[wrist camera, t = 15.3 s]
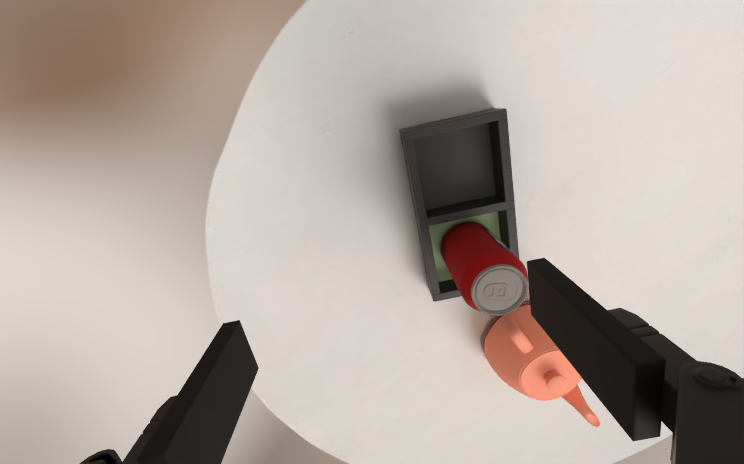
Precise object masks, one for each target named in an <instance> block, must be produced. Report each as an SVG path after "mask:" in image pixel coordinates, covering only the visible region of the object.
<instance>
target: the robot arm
mask: <svg viewBox="0 0 744 464" xmlns="http://www.w3.org/2000/svg"><path fill="white" fill-rule="evenodd" d="M527 269H528V282H529V295H530V308H531V315H532V316H533V318H534V319H535V320H536V321H537V322H538V324H539V325H540V326H541V327H542V329H543V330H544V331H545V332H546V334H547V335H548V336H549V337H550V339H551V340H552V341H553V342H554V344H555V345H556V346H557V347H558V349H559V350H560V351H561V352H562V354H563V355H564V356H565V357H566V359H567V360H568V361H569V362H570V364H571V365H572V366H573V367H574V368H575V370H576V371H577V372H578V373H579V375H580V376H581V377H582V378H583V380H584V381H585V382H586V383H587V385H588V386H589V387H590V388H591V390H592V391H593V392H594V393H595V395H596V396H597V397H598V398H599V400H600V401H601V402H602V403H603V405H604V406H605V407H606V408H607V409H608V411H609V412H610V413H611V414H612V416H613V417H614V418H615V419H616V421H617V422H618V423H619V424H620V426H621V427H622V428H623V429H624V431H625V432H626V433H627V434H628V436H629V437H630V438H631V439H632V441H637V440H643V439H648V438H654V437H660V430H661V421H662V422H663V423H664V424H665V425H666V426H667V427H668V428H669V429H670V430H671V431H672V432H673V438H672V449H671V464H744V379H743V378H741V377H740V376H738V375H737V374H736V373H735V372H733V371H731V370H729V369H727V368H725V367H723V366H719V365H716V364H713V363H708V362H700V361H696V360H695V359H694V358H692V357H691V356H690V355H688V354H687V353H686V352H685V351H683V350H682V349H681V348H679V347H678V346H677V345H675V344H674V343H673V342H672V341H670V340H669V339H668V338H666V337H665V336H664V335H662V334H659V332H658V331H657V330H656V329H655V328H653V327H652V326H649V324H648V323H647V322H645V321H644V320H643V319H641V318H640V317H639V316H638V315H636V314H633V313H631V312H629V311H626V310H624V309H622V308H618V309H613V310H606V309H605V308H604V307H602V306H601V305H600V304H599V303H598V302H597V301H595V300H594V299H593V298H592V297H591V296H589V295H588V294H587V293H586V292H585V291H583V290H582V289H581V288H580V287H579V286H577V285H576V284H575V283H574V282H573V281H572V280H570V279H569V278H568V277H567V276H566V275H564V274H563V273H562V272H561V271H560V270H558V269H557V268H556V267H555V266H554V265H552V264H551V263H550V262H549V261H548V260H546V259H545V258H541V259H536V260H531V261H527ZM257 371H258V365H257V363H256V360H255V358H254V355H253V353H252V350H251V348H250V345H249V343H248V340H247V338H246V335H245V333H244V330H243V328H242V325H241V323H240V320H238V321H233V322H228V323H223V325H222V326H221V328H220V329H219V331H218V333H217V334H216V336H215V337H214V339H213V341H212V342H211V344H210V345H209V347H208V348H207V350H206V351H205V353H204V355H203V356H202V358H201V359H200V361H199V363H198V364H197V366H196V367H195V369H194V370H193V372H192V373H191V375H190V376H189V378H188V380H187V381H186V383H185V384H184V386H183V387H182V389H181V391H180V392H179V394H178V395H177V396H173V397H170V398H169V399H168V400H167V401H166V402H165V403H164V404H163V405H162V406H161V407H160V408H159V409H158V410H157V412H156V413H155V415H154V416H153V418H152V419H151V421H150V424H148V425H147V427H146V428H145V429H144V431H143V434H141V436H140V437H139V438H138V440H137V441H136V443H135V444H134V446H133V447H132V449H131V450H130V452H129V453H128V455H127V456H126V458H125V459H124V461H123V462H122V461H121V459H120V458H119V456H118V454H117V453H116V452H115V451H114V450H110V449H107V450H103V451H100V452H97V453H96V454H94V455H92V456H90V457H88V458H87V459H85V460H84V461H83V462H81V463H80V464H221V462H222V459H223V457H224V454H225V452H226V449H227V446H228V444H229V442H230V439H231V437H232V434H233V432H234V429H235V427H236V424H237V421H238V419H239V416H240V414H241V411H242V409H243V406H244V404H245V401H246V399H247V396H248V394H249V391H250V389H251V386H252V384H253V381H254V379H255V376H256V374H257Z"/></svg>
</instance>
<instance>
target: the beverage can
mask: <svg viewBox="0 0 744 464" xmlns="http://www.w3.org/2000/svg"><path fill="white" fill-rule="evenodd" d="M441 255H442V258H443V260H444V262H445V264H446V266H447V268H448V270H449V272H450V274H451V276H452V278H453V280H454V282H455V284H456V286H457V288H458V289H459V291H460V293H461V295H462V297H463V299H464V300H465V302H466V303H467V304H468V305H469V306H471V307H472V308H474V309H476V310H478V311H481V312H483V313H485V314H488V315H493V316H499V315H505V314H508V313H510V312H512V311H514V310H515V309H517V308H518V307H519V306H520V305H521V304H522V303H523V301H524V300H525V298H526V295H527V292H528V284H527V282H528V276H527V271H526V268H525V266H524V265H523V263H522V262H521V261H520V260H519V259H518V258H517V257H516V256H515V255H514V254H513V253H512V252H511V251H510V250H509V249H508V248H507V247H506V246H505V245H504V244H503V243H502V242H501V241H500V240H499V239H498V238H497V237H496V236H495V235H494V234H493V233H492V232H491V231H490V230H489V229H488V228H486V227H485V226H484V225H482V224H479V223H476V222H465V223H461V224H458V225H456V226H454V227H453V228H451V229H450V230H449V231H448V232H447V234H446V235H445V236H444V238H443V241H442V244H441Z"/></svg>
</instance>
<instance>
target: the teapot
mask: <svg viewBox="0 0 744 464" xmlns="http://www.w3.org/2000/svg"><path fill="white" fill-rule="evenodd" d="M484 350H485V356H486V358H487V360H488V362H489V364H490V365H491V367H492V368H493V370H494V371H495V372H496V373H497V375H498V376H499V377H500V378H501V379H502V380H503V381H504V382H506V383H507V384H508V385H509V386H511V387H512V388H514V389H515V390H517V391H519V392H520V393H522V394H524V395H526V396H528V397H530V398H533V399H536V400H540V401H547V400H552V399H556V398H558V397H563V398H564V399H565V400H566V401H567V402H568V403H570V404H571V405H572V406H573V407H574V408H575V409H576V410H577V411H578V412H579V413H580V414H581V415H582V416H583V417H584V418H585V419H586V420H587V421H588V422H589V423H590V424H591V425H593V426H596V427H598V426H600V421H599V419H598V418H597V417H596V415H595V414H594V413H593V412H592V410H591V409H590V408H589V406H588V405H587V403H586V401H585V399H584V398H583V396H582V393H581V391H580V389H579V387H578V385H577V384H578V383H579V382H580V380H581V378H582V377H581V376H580V375H579V373H578V372H577V371H576V370H575V368H574V367H573V366H572V365H571V364H570V362H569V361H568V360H567V359H566V357H565V356H564V355H563V354H562V352H561V351H560V350H559V349H558V347H557V346H556V345H555V344H554V342H553V341H552V340H551V339H550V337H549V336H548V335H547V334H546V332H545V331H544V330H543V329H542V327H541V326H540V325H539V324H538V322H537V321H536V320H535V319H534V318H533V316H532V315H531V308H530V305H525V306H521V307H518V308H517V309H515V310H514V311H512V312H510V313H508V314H505V315H503V316H502V317H501V318H499V319H498V320H497V321H496V323H495V324H494V325H493V326H492V328H491V329H490V331H489V332H488V334H487V336H486V339H485V345H484Z"/></svg>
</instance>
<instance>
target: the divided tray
mask: <svg viewBox="0 0 744 464" xmlns="http://www.w3.org/2000/svg"><path fill="white" fill-rule="evenodd" d="M400 135H401V140H402V146H403V151H404V157H405V162H406V167H407V173H408V178H409V184H410V189H411V195H412V200H413V206H414V211H415V216H416V222H417V227H418V233H419V238H420V244H421V249H422V254H423V260H424V265H425V271H426V276H427V282H428V287H429V290H430V293H431V296H432V298H433V301H439V300H444V299H449V298H454V297H459V296H462V295H461V293H460V291H459V289H458V288H457V286H456V284H455V282H454V280H453V278H452V276H451V274H450V272H449V270H448V268H447V266H446V264H445V262H444V260H443V258H442V255H441V244H442V241H443V238H444V236H445V235H446V234H447V232H448V231H449V230H450V229H451V228H453V227H454V226H456V225H458V224H461V223H465V222H476V223H479V224H482V225H484V226H485V227H486V228H488V229H489V230H490V231H491V232H492V233H493V234H494V235H495V236H496V237H497V238H498V239H499V240H500V241H501V242H502V243H503V244H504V245H505V246H506V247H507V248H508V249H509V250H510V251H511V252H512V253H513V254H514V255H515V256H516V257H517V258H518V259H519V252H518V240H517V228H516V216H515V205H514V193H513V181H512V169H511V158H510V146H509V134H508V122H507V112H506V109H499V108H493V109H489V110H484V111H480V112H476V113H471V114H467V115H462V116H458V117H454V118H449V119H445V120H440V121H436V122H431V123H427V124H423V125H418V126H414V127H409V128H405V129H401V130H400Z"/></svg>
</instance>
